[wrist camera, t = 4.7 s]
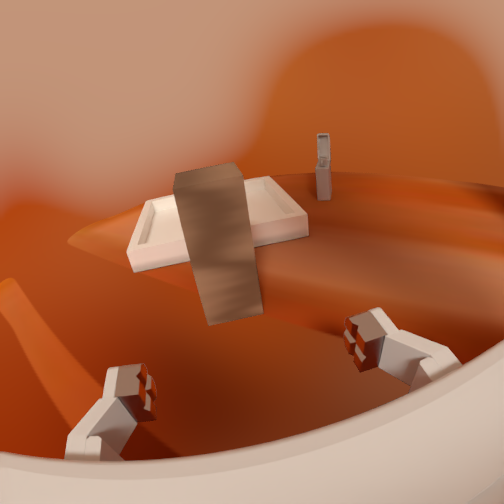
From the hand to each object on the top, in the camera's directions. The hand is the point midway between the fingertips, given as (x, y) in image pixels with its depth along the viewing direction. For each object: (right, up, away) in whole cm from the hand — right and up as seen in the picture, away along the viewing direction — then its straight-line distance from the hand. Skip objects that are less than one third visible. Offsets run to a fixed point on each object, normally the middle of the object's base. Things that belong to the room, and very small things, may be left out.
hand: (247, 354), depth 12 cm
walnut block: (-1, 0, +12) cm, 12 cm away
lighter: (+11, +12, +31) cm, 35 cm away
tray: (-4, +7, +26) cm, 27 cm away
